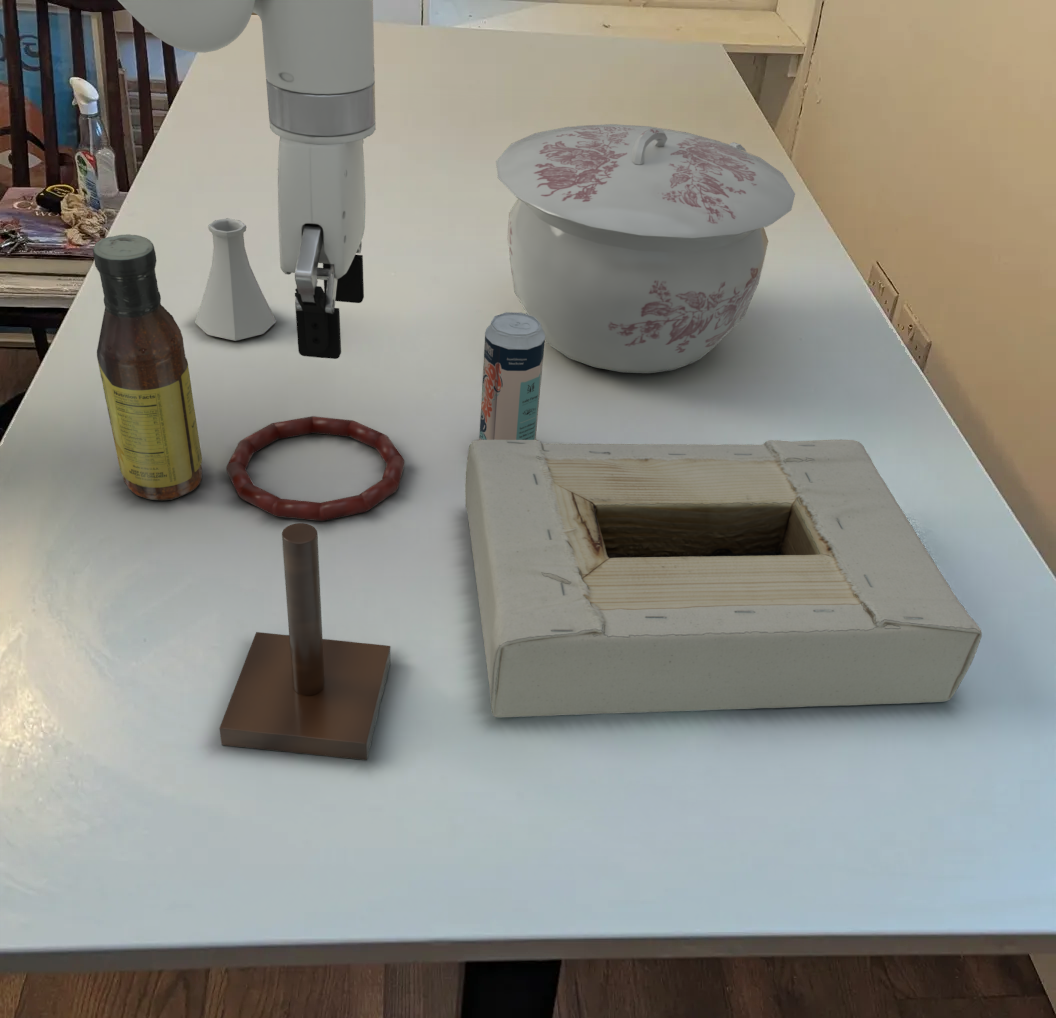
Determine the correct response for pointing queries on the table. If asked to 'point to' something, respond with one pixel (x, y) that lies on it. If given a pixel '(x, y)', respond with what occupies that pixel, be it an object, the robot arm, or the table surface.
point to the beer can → (511, 377)
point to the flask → (232, 288)
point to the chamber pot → (637, 240)
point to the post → (306, 674)
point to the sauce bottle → (145, 375)
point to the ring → (307, 508)
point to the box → (703, 580)
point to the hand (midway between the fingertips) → (332, 326)
